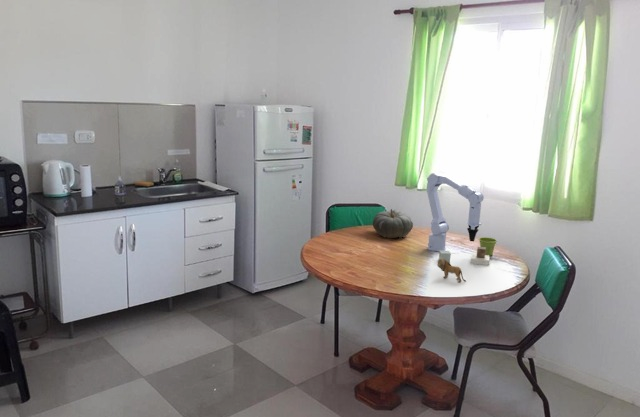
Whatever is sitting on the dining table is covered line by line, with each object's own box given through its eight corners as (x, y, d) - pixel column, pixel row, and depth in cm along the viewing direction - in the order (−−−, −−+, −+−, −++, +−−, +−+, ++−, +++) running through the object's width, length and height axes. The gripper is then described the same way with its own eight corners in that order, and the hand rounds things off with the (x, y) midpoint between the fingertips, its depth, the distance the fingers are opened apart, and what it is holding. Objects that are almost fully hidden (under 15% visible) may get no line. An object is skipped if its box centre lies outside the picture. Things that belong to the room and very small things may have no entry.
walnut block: (476, 257, 260) (477, 248, 259) (476, 255, 264) (477, 246, 263) (484, 258, 259) (485, 249, 258) (484, 256, 263) (485, 247, 262)
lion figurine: (434, 277, 238) (435, 259, 236) (439, 274, 242) (440, 256, 240) (464, 284, 229) (465, 265, 227) (468, 281, 233) (469, 262, 231)
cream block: (470, 263, 260) (471, 258, 259) (471, 258, 268) (471, 253, 267) (488, 265, 257) (489, 260, 256) (488, 260, 265) (489, 255, 264)
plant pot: (496, 257, 269) (498, 242, 267) (478, 256, 270) (479, 241, 269) (494, 252, 278) (495, 237, 276) (476, 251, 279) (478, 236, 278)
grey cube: (440, 262, 260) (441, 253, 259) (438, 259, 265) (439, 250, 264) (450, 262, 260) (450, 253, 258) (448, 259, 264) (448, 250, 263)
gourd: (399, 224, 327) (400, 200, 320) (420, 240, 306) (422, 214, 299) (366, 231, 318) (366, 207, 311) (385, 248, 297) (386, 222, 290)
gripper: (481, 218, 256) (479, 243, 259) (482, 212, 269) (480, 236, 272) (467, 217, 258) (465, 242, 261) (469, 211, 271) (466, 235, 274)
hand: (472, 239), depth 267 cm, fingers open, 7 cm apart
